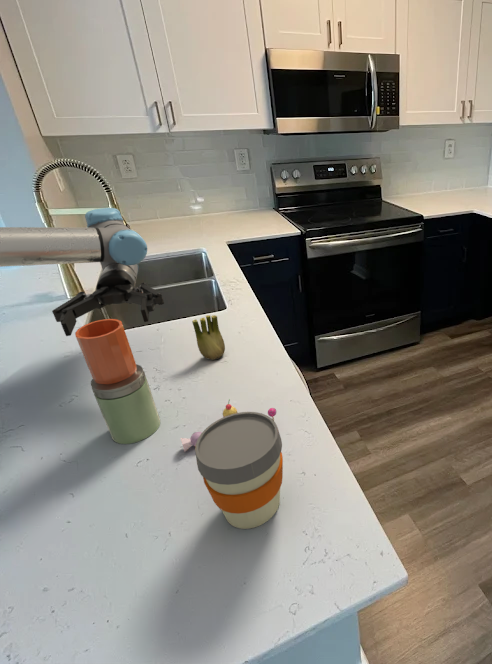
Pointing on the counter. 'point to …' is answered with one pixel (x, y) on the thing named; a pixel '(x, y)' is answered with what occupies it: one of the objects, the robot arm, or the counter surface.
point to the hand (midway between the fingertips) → (106, 322)
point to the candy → (227, 411)
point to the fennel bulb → (209, 338)
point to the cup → (106, 351)
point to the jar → (130, 415)
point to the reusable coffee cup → (242, 467)
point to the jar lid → (120, 386)
